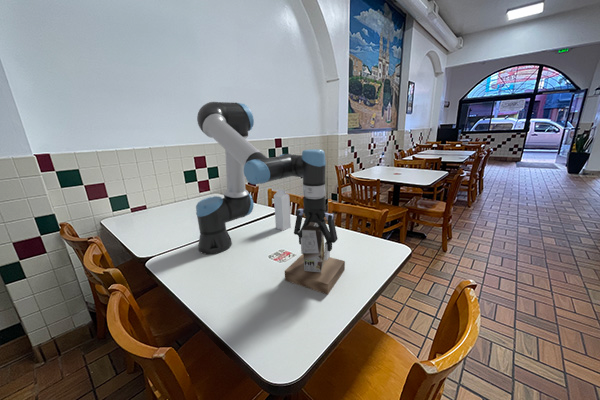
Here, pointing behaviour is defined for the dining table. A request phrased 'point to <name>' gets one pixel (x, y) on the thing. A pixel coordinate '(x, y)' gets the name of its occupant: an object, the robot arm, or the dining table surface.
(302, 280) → the walnut pedestal
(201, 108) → the robot arm
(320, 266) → the coffee box
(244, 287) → the dining table surface
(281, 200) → the milk
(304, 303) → the dining table surface
